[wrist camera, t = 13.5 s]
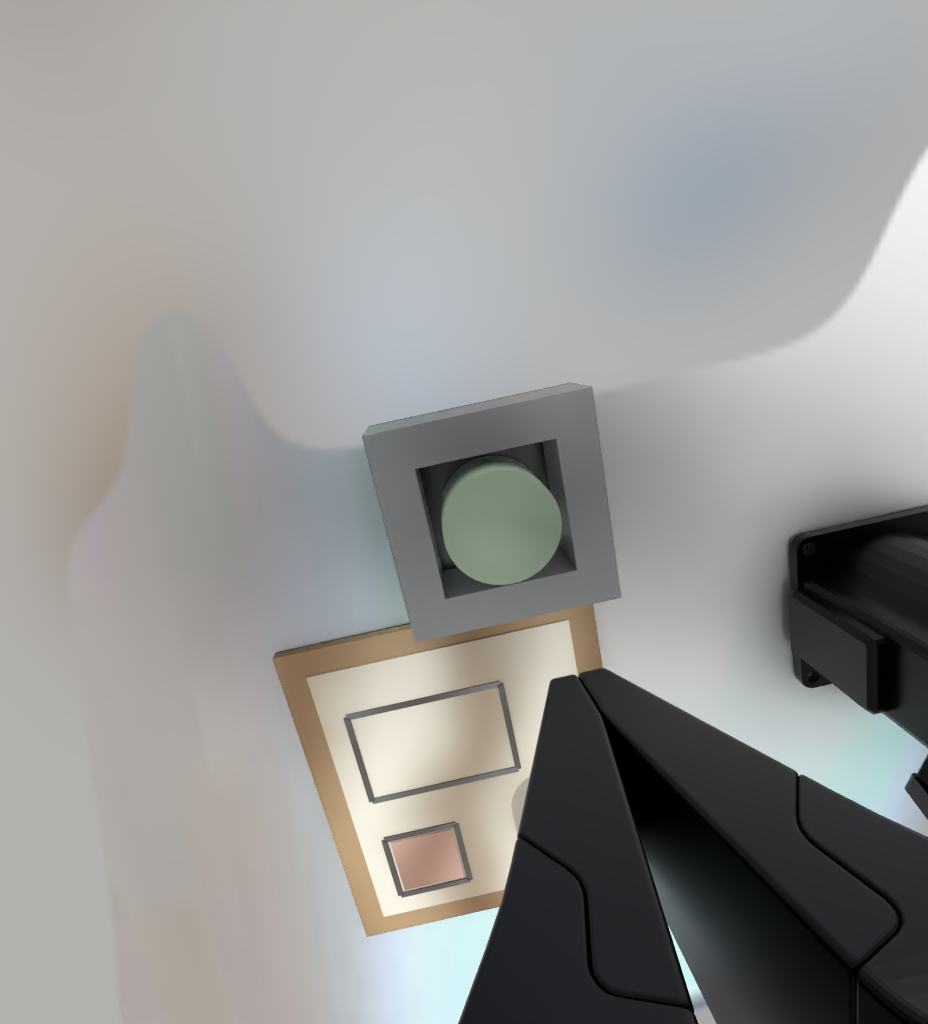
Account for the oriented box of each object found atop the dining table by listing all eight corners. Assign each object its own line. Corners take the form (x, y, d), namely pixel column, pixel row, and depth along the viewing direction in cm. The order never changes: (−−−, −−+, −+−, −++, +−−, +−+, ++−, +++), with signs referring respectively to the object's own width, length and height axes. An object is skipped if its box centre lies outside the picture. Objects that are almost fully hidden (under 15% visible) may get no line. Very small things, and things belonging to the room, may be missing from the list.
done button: (535, 445, 19) (551, 458, 16) (552, 544, 20) (569, 571, 17) (429, 468, 19) (430, 485, 16) (452, 566, 20) (456, 595, 17)
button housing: (570, 382, 19) (592, 386, 17) (598, 569, 21) (620, 597, 19) (369, 425, 19) (362, 436, 17) (415, 610, 21) (415, 642, 19)
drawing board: (587, 584, 21) (591, 590, 21) (631, 868, 25) (635, 879, 25) (275, 653, 21) (271, 661, 21) (367, 927, 25) (366, 940, 24)
